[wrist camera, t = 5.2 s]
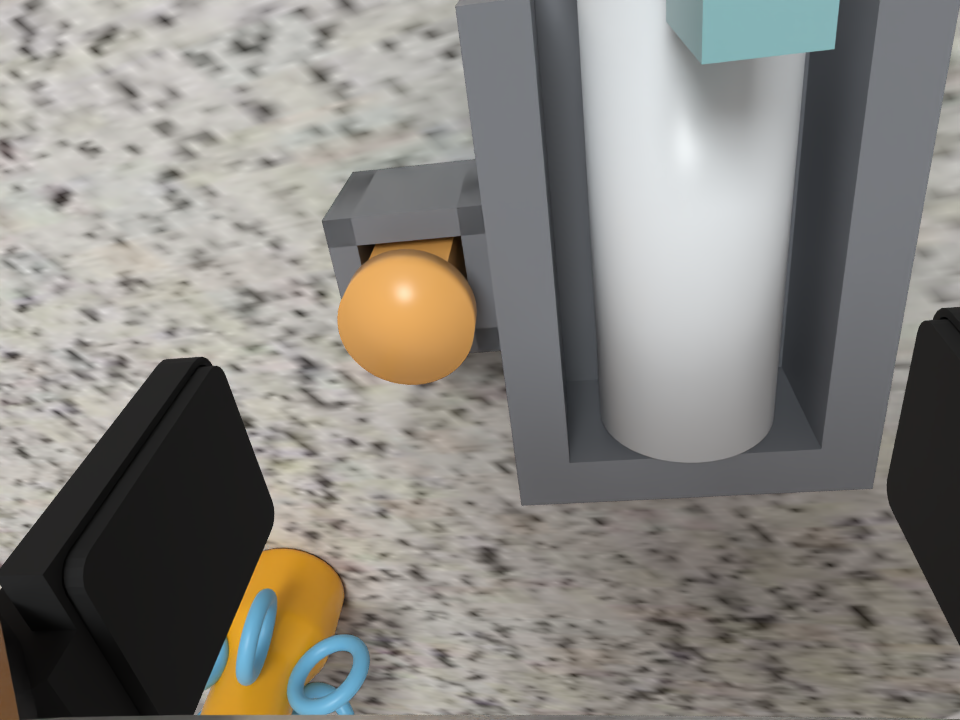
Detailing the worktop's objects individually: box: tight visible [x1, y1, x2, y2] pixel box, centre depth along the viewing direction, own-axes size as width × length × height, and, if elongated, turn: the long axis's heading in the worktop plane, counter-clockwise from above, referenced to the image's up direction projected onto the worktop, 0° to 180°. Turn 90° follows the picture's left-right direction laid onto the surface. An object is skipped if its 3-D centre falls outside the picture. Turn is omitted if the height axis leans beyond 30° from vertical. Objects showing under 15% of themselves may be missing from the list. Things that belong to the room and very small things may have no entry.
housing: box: [322, 0, 960, 506], centre depth 28 cm, size 19×18×6 cm
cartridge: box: [577, 0, 840, 463], centre depth 23 cm, size 7×18×13 cm, turn 7°
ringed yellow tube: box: [198, 548, 370, 715], centre depth 37 cm, size 12×10×15 cm
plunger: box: [337, 236, 477, 385], centre depth 28 cm, size 4×4×7 cm
